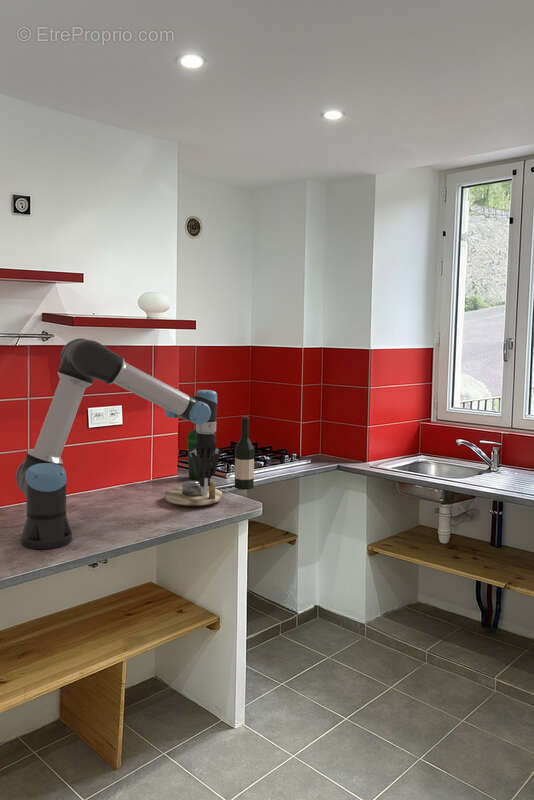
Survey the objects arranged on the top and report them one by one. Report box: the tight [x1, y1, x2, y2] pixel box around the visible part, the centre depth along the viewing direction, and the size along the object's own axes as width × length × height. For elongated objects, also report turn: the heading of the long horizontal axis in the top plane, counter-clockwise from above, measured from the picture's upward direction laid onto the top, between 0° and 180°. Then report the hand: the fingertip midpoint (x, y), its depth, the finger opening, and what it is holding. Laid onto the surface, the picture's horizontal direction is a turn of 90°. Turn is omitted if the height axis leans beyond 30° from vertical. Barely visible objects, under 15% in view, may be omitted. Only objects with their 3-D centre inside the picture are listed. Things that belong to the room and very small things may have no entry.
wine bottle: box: [234, 415, 255, 491], centre depth 272 cm, size 8×8×30 cm
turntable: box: [164, 481, 223, 506], centre depth 250 cm, size 22×22×8 cm
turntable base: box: [175, 503, 214, 508], centre depth 251 cm, size 16×16×1 cm
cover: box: [181, 480, 203, 497], centre depth 250 cm, size 9×9×5 cm
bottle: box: [186, 422, 200, 481], centre depth 285 cm, size 11×11×28 cm
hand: (204, 494), depth 243 cm, fingers closed
